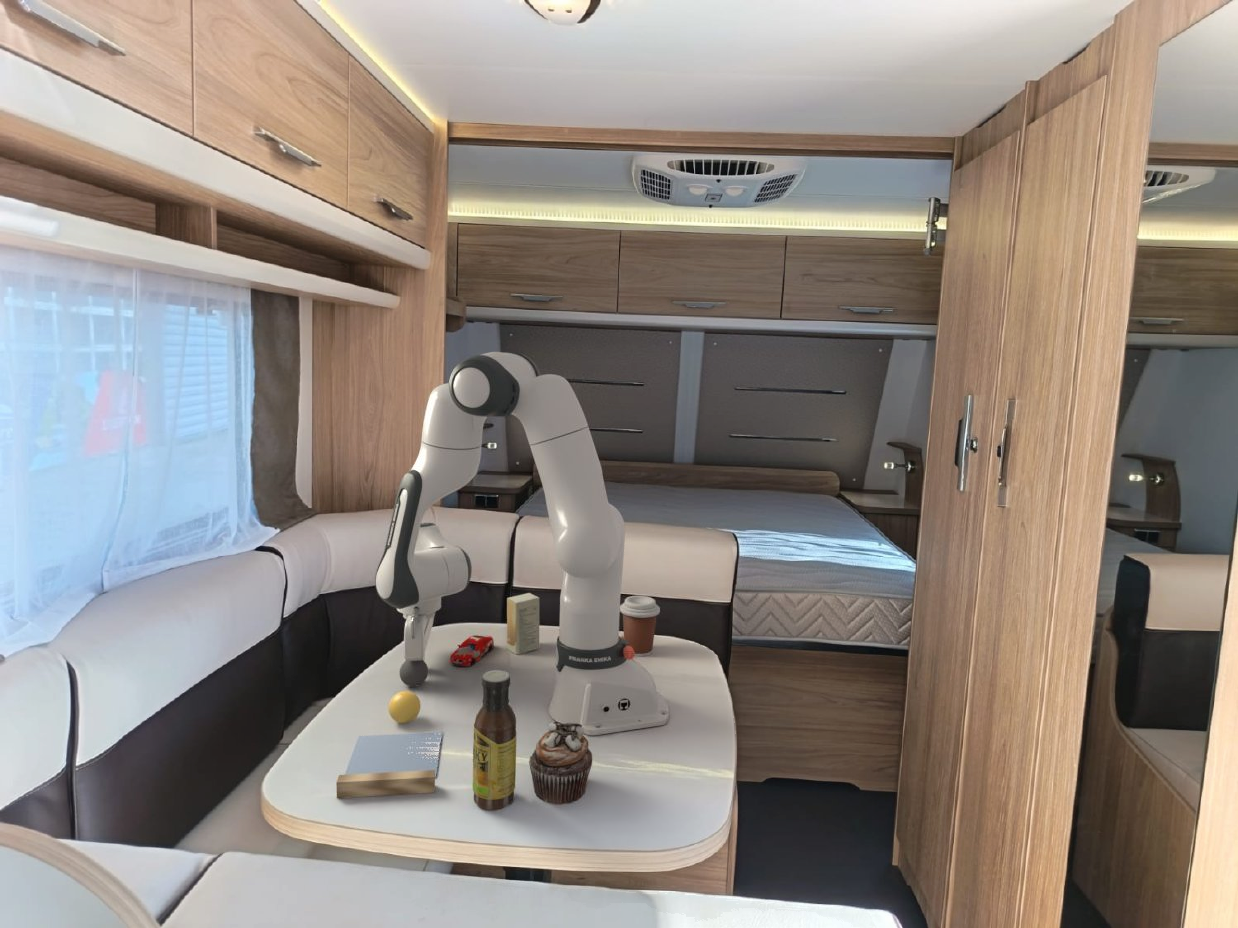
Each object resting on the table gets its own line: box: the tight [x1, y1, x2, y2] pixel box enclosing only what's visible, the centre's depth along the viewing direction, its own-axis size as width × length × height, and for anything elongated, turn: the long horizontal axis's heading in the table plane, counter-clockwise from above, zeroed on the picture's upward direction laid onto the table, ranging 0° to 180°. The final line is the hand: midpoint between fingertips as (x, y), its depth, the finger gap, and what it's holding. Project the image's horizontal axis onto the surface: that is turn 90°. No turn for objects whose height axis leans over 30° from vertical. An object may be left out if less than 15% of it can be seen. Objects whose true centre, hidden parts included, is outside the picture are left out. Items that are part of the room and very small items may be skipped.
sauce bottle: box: [472, 669, 517, 811], centre depth 110 cm, size 6×6×20 cm
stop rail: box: [336, 770, 436, 799], centre depth 113 cm, size 14×2×2 cm, turn 99°
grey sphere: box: [399, 660, 429, 687], centre depth 149 cm, size 6×6×6 cm
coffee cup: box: [620, 595, 661, 658], centre depth 170 cm, size 9×9×12 cm
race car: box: [449, 634, 495, 667], centre depth 164 cm, size 13×5×4 cm, turn 160°
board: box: [344, 731, 444, 779], centre depth 123 cm, size 14×14×1 cm
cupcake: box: [528, 720, 593, 805], centre depth 115 cm, size 10×10×10 cm
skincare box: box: [506, 592, 540, 656], centre depth 168 cm, size 6×4×12 cm
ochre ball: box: [388, 690, 422, 724], centre depth 134 cm, size 6×6×6 cm
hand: (419, 664), depth 156 cm, fingers closed
